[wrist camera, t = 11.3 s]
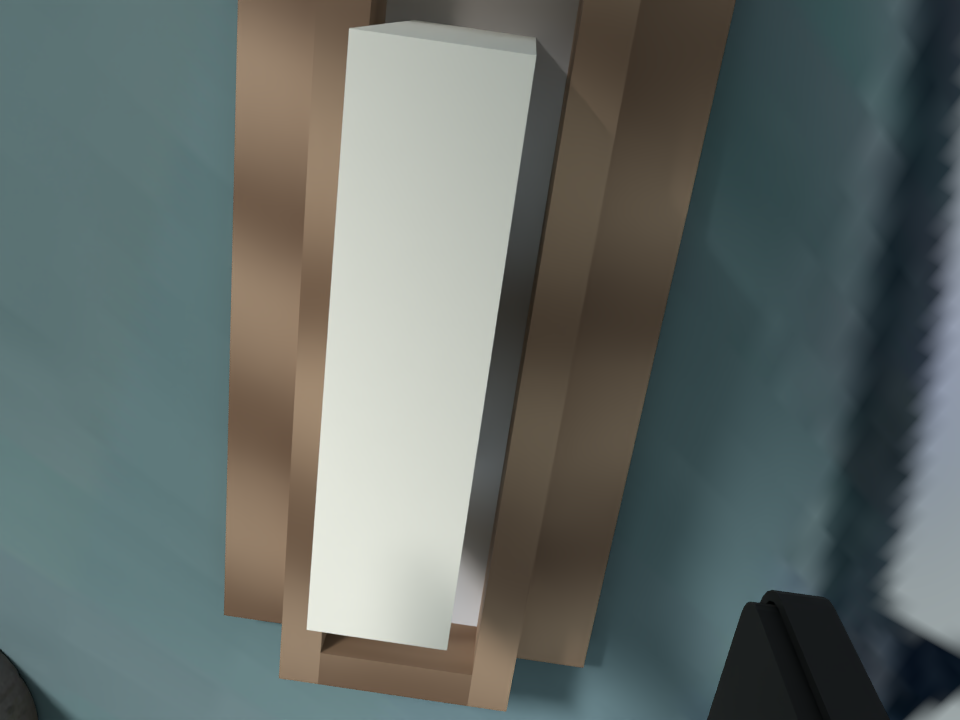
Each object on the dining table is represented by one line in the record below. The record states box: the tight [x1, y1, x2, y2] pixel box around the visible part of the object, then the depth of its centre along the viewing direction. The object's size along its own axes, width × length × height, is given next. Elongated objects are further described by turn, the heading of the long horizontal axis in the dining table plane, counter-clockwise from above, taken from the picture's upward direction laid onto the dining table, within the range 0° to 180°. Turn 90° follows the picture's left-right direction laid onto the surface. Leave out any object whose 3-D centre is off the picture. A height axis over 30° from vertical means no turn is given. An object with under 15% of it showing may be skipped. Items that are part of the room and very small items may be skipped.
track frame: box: [224, 0, 736, 711], centre depth 23 cm, size 26×12×3 cm, turn 172°
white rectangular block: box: [307, 20, 536, 650], centre depth 20 cm, size 12×3×8 cm, turn 172°
